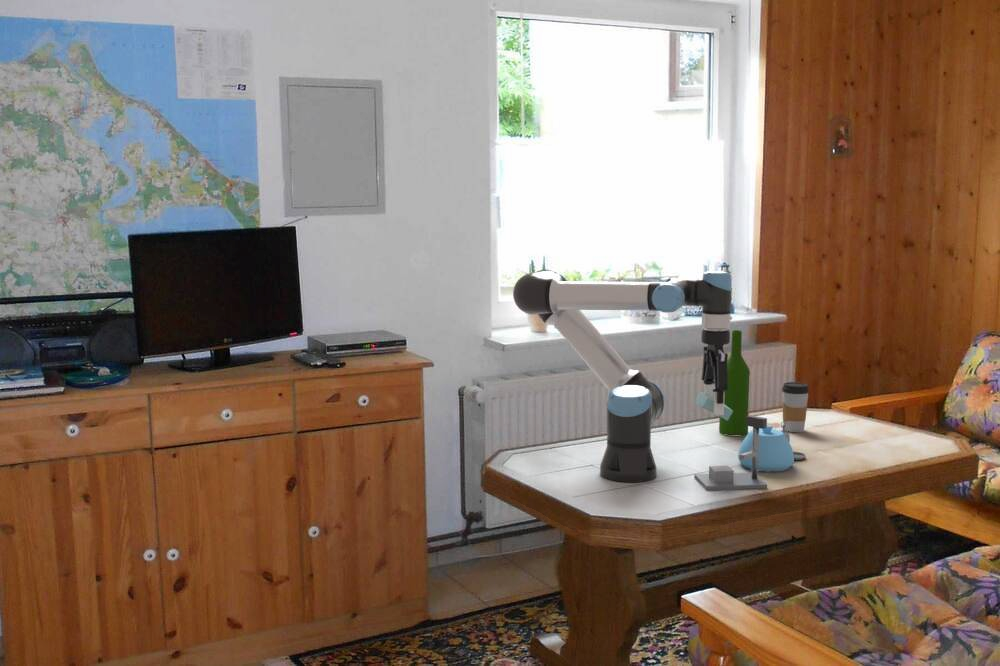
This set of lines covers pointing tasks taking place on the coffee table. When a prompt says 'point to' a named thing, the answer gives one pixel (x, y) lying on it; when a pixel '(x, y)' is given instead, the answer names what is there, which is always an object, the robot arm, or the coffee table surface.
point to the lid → (708, 402)
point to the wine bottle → (736, 390)
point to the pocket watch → (796, 454)
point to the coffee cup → (794, 405)
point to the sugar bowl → (769, 450)
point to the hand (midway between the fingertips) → (713, 411)
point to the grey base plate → (727, 479)
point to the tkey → (754, 442)
